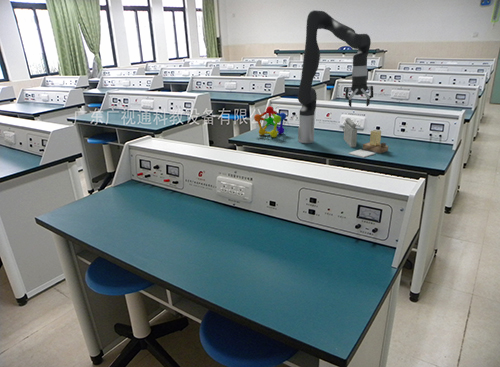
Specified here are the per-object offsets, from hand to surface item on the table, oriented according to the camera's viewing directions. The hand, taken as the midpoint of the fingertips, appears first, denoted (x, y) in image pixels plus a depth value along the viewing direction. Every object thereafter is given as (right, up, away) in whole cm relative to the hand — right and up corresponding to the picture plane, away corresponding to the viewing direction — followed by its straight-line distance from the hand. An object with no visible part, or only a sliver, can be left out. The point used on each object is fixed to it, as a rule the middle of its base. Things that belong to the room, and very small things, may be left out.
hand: (358, 106), depth 193 cm
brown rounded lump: (+13, -22, +13) cm, 29 cm away
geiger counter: (+3, -16, +32) cm, 35 cm away
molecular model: (-44, -8, +57) cm, 72 cm away
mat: (+4, -25, +7) cm, 26 cm away
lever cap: (+13, -19, +12) cm, 26 cm away
